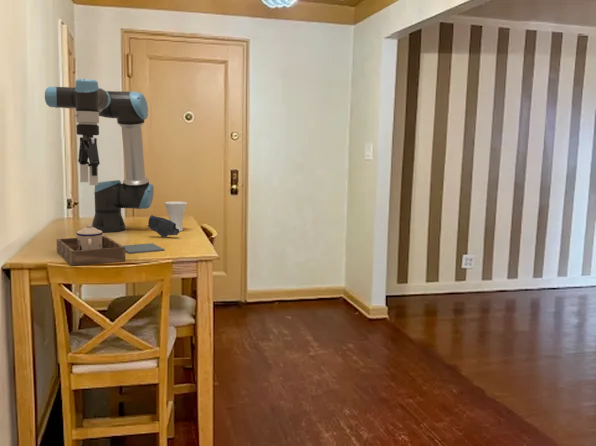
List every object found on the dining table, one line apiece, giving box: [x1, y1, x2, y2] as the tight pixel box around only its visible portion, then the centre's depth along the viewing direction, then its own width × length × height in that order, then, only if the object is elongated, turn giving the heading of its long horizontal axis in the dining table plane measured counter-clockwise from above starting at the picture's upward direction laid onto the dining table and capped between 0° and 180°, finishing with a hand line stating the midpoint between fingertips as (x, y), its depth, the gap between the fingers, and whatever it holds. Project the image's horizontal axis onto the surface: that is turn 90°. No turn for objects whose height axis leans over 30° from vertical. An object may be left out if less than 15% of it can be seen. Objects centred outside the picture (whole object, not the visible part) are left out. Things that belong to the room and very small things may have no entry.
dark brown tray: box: [56, 235, 126, 267], centre depth 204 cm, size 26×18×5 cm
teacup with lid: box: [76, 223, 104, 251], centre depth 204 cm, size 12×9×12 cm
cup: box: [164, 200, 188, 232], centre depth 267 cm, size 10×10×14 cm
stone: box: [147, 214, 181, 238], centre depth 247 cm, size 14×6×10 cm, turn 102°
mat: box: [123, 242, 166, 255], centre depth 221 cm, size 14×14×1 cm
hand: (89, 183), depth 201 cm, fingers open, 13 cm apart
